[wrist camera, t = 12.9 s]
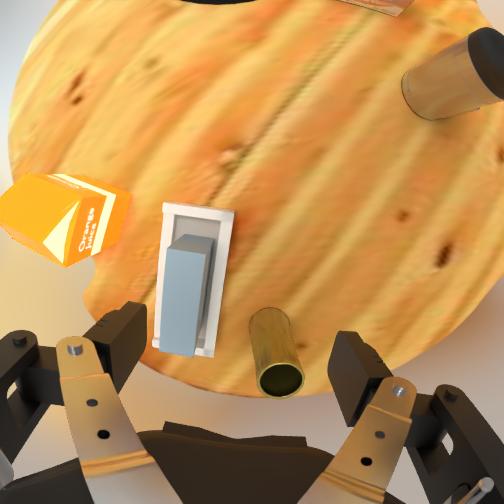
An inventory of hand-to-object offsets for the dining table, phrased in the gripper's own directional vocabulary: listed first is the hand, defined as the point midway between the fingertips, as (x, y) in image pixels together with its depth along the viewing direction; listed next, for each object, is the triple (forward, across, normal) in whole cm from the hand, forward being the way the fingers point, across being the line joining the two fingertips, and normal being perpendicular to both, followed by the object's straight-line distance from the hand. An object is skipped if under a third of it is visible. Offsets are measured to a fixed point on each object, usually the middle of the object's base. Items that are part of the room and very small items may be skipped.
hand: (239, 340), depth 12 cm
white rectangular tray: (+29, +7, +7) cm, 31 cm away
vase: (+30, -5, +14) cm, 33 cm away
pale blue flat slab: (+28, +6, +7) cm, 29 cm away
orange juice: (+29, +22, -1) cm, 37 cm away
